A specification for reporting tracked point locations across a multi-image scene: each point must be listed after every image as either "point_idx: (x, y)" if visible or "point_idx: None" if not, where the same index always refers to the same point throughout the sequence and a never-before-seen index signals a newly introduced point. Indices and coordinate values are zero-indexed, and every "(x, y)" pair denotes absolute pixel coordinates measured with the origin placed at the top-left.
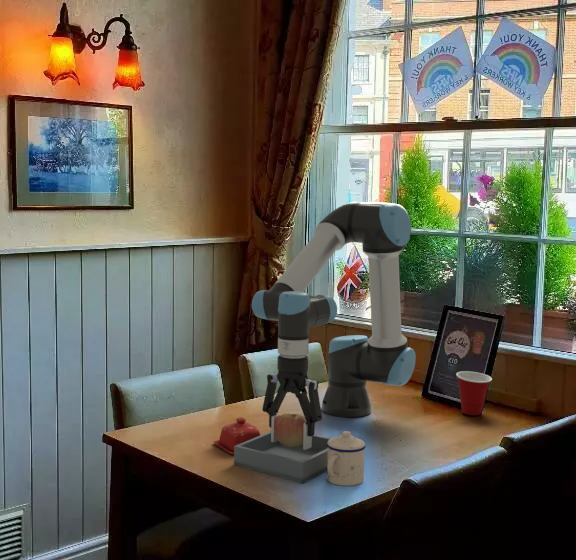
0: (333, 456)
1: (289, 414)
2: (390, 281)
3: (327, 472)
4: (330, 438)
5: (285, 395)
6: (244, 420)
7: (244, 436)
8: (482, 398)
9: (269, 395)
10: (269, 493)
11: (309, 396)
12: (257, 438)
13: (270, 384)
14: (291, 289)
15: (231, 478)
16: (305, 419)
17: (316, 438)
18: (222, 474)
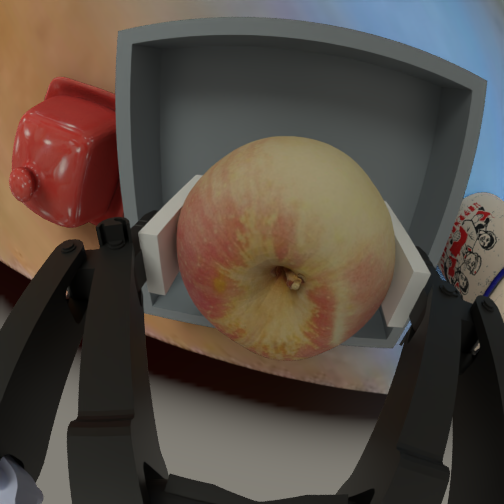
0: (477, 348)
1: (242, 269)
2: None
3: (444, 276)
4: (419, 53)
5: (132, 383)
6: (30, 187)
7: (86, 203)
8: None
9: (63, 386)
10: (328, 362)
11: (453, 487)
12: (136, 219)
13: (36, 464)
14: None
15: (216, 335)
16: (384, 270)
17: (345, 47)
18: (185, 324)
